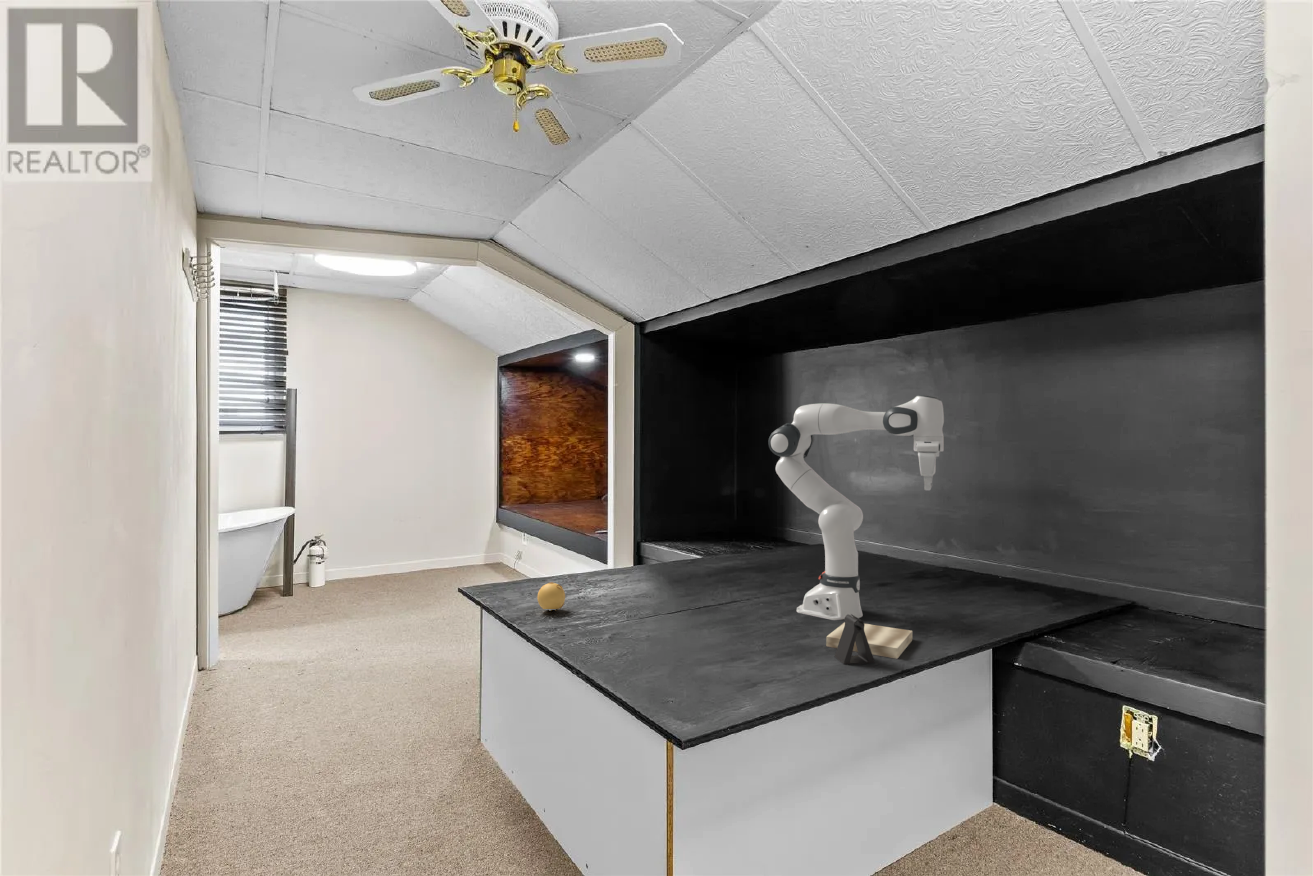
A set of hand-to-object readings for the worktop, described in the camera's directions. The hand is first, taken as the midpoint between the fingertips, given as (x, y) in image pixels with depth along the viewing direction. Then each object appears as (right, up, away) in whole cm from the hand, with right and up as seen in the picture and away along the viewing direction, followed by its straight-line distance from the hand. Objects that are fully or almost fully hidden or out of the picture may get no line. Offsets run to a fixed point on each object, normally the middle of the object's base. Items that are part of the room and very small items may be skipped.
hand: (928, 489), depth 206 cm
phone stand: (-32, -45, -28) cm, 62 cm away
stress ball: (-124, -45, +24) cm, 134 cm away
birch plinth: (-23, -45, -13) cm, 52 cm away
